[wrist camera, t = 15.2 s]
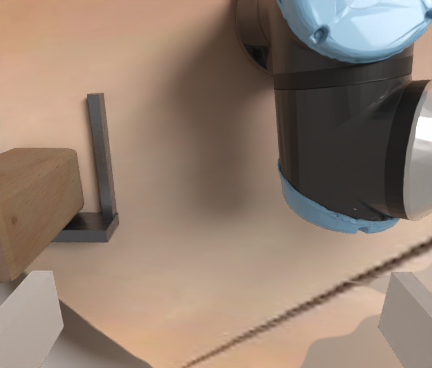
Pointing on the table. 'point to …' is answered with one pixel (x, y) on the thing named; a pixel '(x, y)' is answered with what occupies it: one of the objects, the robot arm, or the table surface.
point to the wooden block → (35, 203)
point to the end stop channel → (107, 220)
